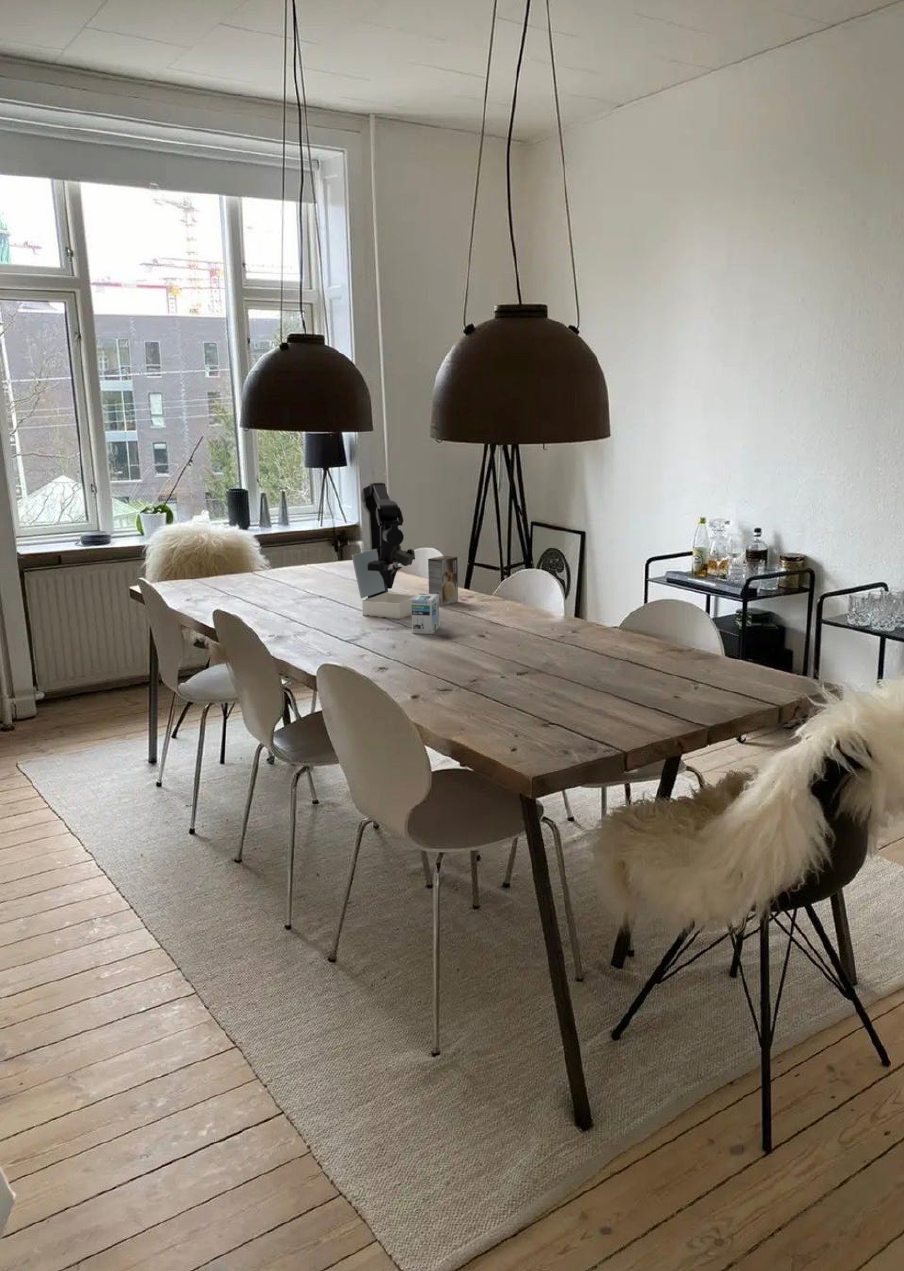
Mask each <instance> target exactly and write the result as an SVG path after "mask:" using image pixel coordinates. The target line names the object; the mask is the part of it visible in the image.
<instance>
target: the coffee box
mask: <svg viewBox="0 0 904 1271" xmlns="http://www.w3.org/2000/svg"><path fill="white" fill-rule="evenodd" d="M427 561H428V564H427V565H428V575H427V576H428V594H439V606H442V607H443V606H447V605H450V604H453V603H457V602H458V601H459V587H458V586H459V583H458V582H459V580H458V574H459V573H458V556H450V555H440V556H436V557H431V558H428V559H427Z"/></svg>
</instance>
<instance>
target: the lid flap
mask: <svg viewBox="0 0 904 1271" xmlns="http://www.w3.org/2000/svg"><path fill="white" fill-rule="evenodd" d="M351 559H352V564H353V568H354V569H353V570H354V574H355V578H356V582H357V588H358V591H359V592H358V593H359V596H360V597H359V598H360V599H364V598H368V596H370V595H373V594H376V593H379V592H382V591H385V587H384V582H383V578H382V576H381V574H380V573H379V571H369V570H368V567H367V564H368V563H369V562H371V561H378V554H377V549H373V550H367V551H363V552H360V553H355V554H351Z"/></svg>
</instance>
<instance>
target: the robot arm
mask: <svg viewBox="0 0 904 1271" xmlns="http://www.w3.org/2000/svg"><path fill="white" fill-rule="evenodd" d="M360 493H361V494H360V497H361V503H363V508H364V510H365V511H366V512H367V514H368V532H369V546H370V550H373V549H377V554H378V561H371V562H369V563H368V564H367V567H368V570H369V571H379V573H380V574H381V576H382V578H383V582H384V587H385V591H382V592H379V593H376V594H373V595H370V596H367V597H365V600H366V599H369V598H372V597H375V596H377V595H380V594H383V593H386V592H388V593H389V589H390V590H391V589H393V585H394V582H395V578H396V574H397V573H398V572H399V571H400V570H401V569H402V568H403V567H402V566H404V567H408V566H411V565H412V563H413V560H414V561H415V560H416V555H415V554H416V553H415V550H414V549H412V548H409V549H407V550H403V549H402V546H401V544H402V543H403V541H404V536H405V535H404V533H403V531H402V530H401V529H399V526H403V523H404V518H403V517H404V516H403V513H402V510H401V508H400V507H399V505H398V503H397V502H396V501H394V500H391V499H390V496H389V493H388V489H387V487H386V483H384V482H372V483H370V484H369V485H368V486H366V487H363V489H362V490H361V492H360ZM370 550H369V551H370ZM399 564H401V566H399Z"/></svg>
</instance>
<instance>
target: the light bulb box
mask: <svg viewBox="0 0 904 1271" xmlns="http://www.w3.org/2000/svg"><path fill="white" fill-rule="evenodd" d="M416 595H417V596H415V597H414V598H413V599H412V600H411V602H412V614H411V633H412V634H423V635H433V634H434V633H436V631H437V630H438V629H439V628H440V605H439V594H429V593H425V592H423V593H422V592H421V593H420V592H418V594H416Z"/></svg>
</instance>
